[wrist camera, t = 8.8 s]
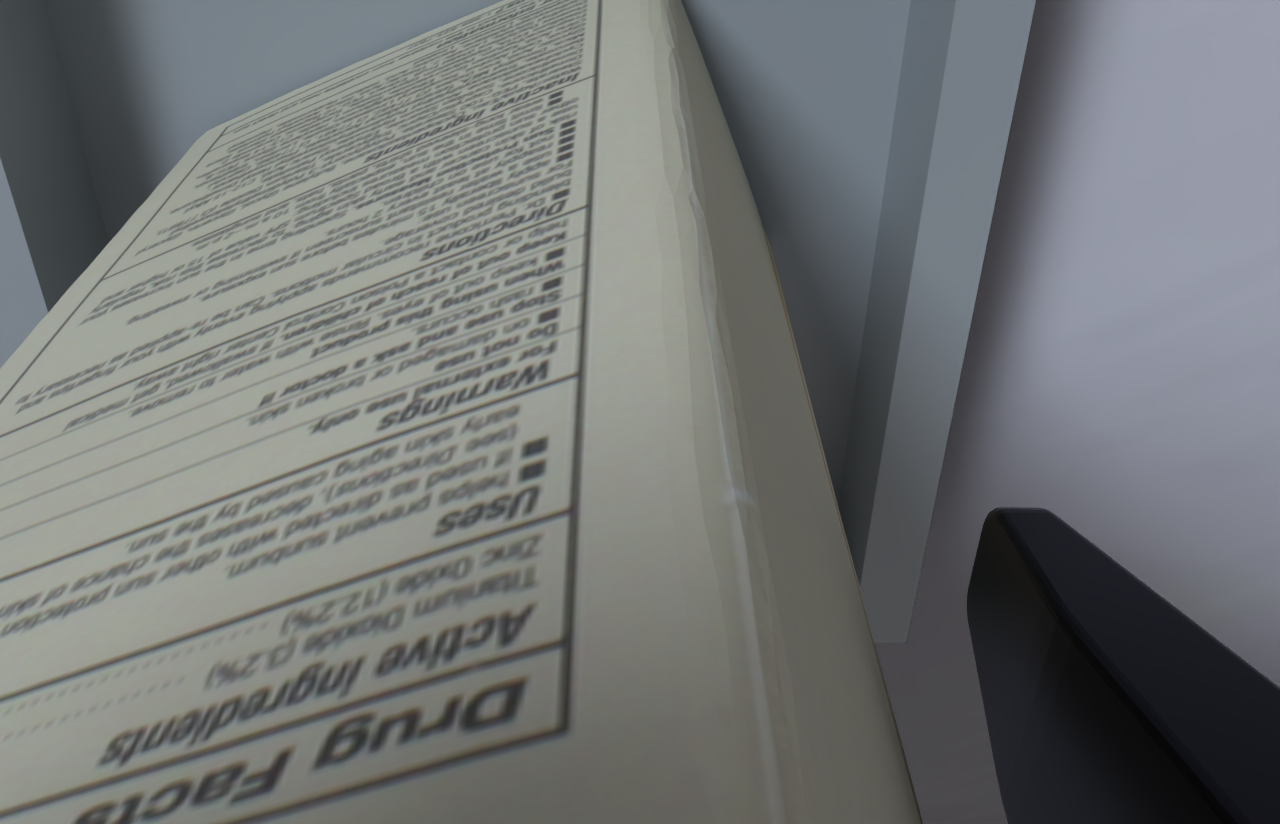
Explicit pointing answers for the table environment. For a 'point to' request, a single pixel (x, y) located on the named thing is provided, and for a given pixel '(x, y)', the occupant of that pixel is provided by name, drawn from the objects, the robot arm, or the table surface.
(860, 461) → the sorting tray
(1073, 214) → the table surface
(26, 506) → the skincare box
